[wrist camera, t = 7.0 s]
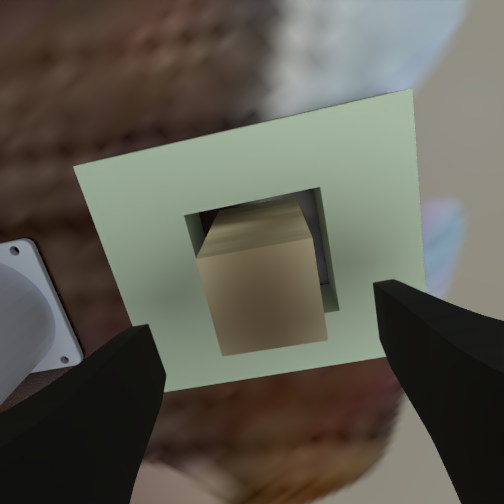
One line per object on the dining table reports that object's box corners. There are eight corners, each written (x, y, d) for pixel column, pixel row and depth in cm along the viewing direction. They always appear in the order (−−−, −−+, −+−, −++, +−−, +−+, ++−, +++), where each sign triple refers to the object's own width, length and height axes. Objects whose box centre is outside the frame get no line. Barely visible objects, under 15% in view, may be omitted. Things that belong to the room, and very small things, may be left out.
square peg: (235, 280, 20) (221, 356, 14) (218, 210, 19) (195, 259, 13) (307, 267, 20) (328, 340, 14) (295, 195, 19) (312, 238, 12)
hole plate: (171, 358, 22) (157, 393, 20) (102, 159, 18) (73, 166, 16) (407, 318, 21) (429, 349, 18) (387, 93, 17) (412, 88, 14)
